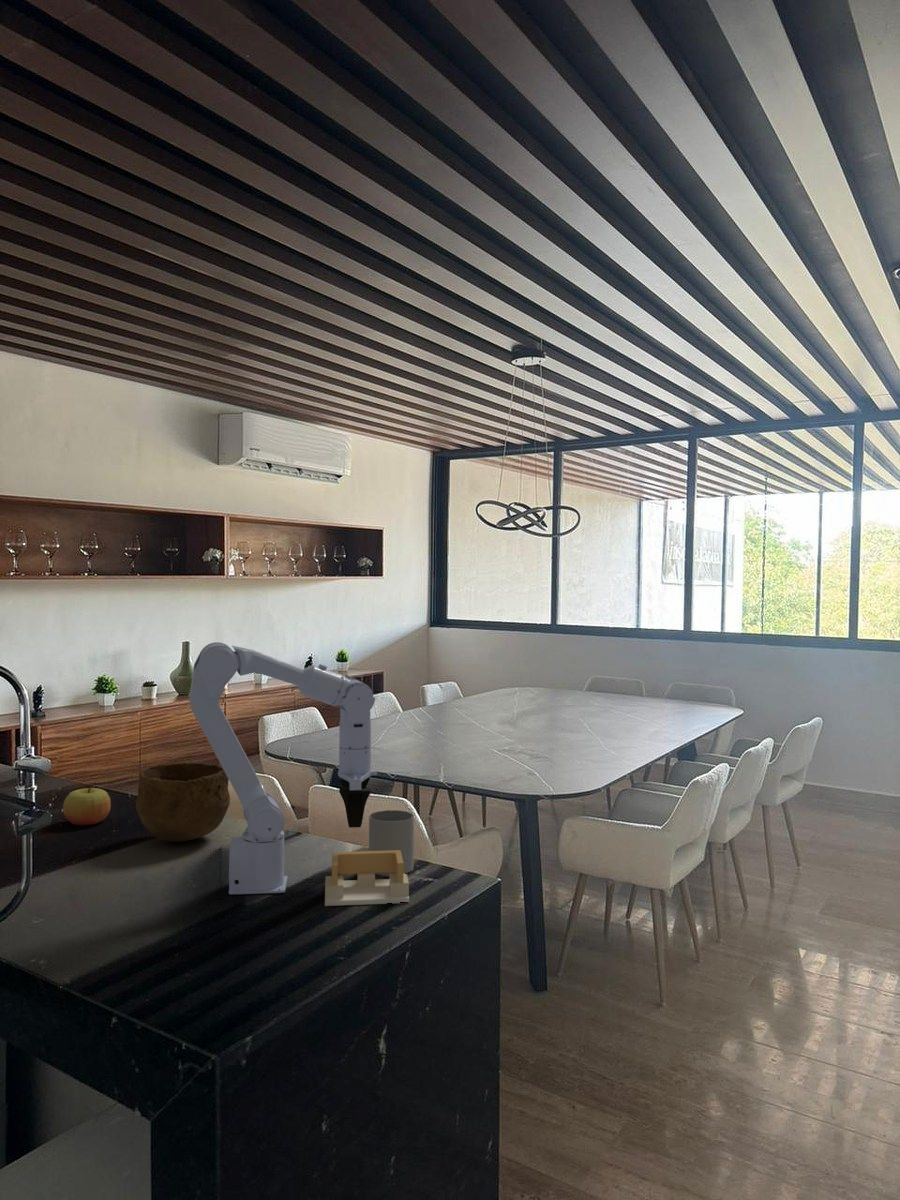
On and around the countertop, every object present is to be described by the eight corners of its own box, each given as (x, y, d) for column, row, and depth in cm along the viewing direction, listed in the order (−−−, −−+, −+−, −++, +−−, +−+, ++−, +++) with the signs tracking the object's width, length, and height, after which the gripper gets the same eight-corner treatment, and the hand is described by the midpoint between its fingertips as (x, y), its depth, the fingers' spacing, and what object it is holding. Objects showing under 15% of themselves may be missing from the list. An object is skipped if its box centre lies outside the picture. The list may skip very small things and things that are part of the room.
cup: (406, 877, 158) (407, 822, 158) (363, 874, 160) (363, 820, 160) (417, 863, 166) (417, 811, 166) (376, 860, 168) (376, 809, 168)
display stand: (409, 902, 145) (409, 885, 145) (324, 905, 143) (325, 887, 143) (404, 883, 155) (405, 866, 155) (326, 885, 153) (326, 868, 153)
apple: (99, 829, 189) (99, 792, 189) (55, 828, 189) (55, 792, 189) (117, 817, 198) (117, 782, 198) (75, 817, 199) (75, 782, 199)
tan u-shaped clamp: (403, 883, 146) (403, 863, 146) (331, 885, 144) (331, 865, 144) (400, 869, 153) (400, 850, 153) (332, 871, 152) (332, 852, 152)
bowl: (249, 836, 184) (249, 766, 183) (178, 859, 168) (178, 782, 168) (189, 823, 194) (189, 757, 194) (117, 843, 178) (117, 771, 178)
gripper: (378, 753, 150) (378, 831, 150) (375, 739, 165) (375, 810, 165) (337, 754, 149) (337, 832, 150) (338, 740, 164) (337, 811, 164)
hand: (354, 821), depth 157 cm, fingers open, 7 cm apart
